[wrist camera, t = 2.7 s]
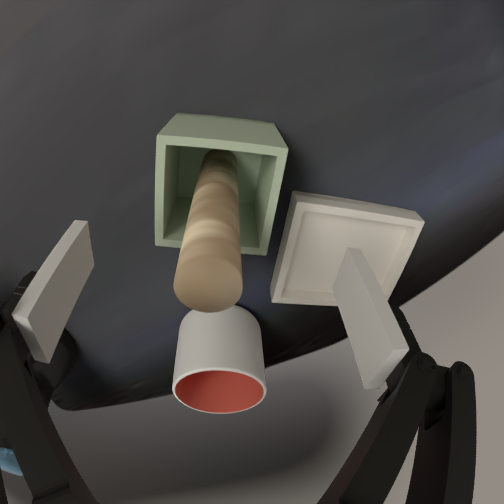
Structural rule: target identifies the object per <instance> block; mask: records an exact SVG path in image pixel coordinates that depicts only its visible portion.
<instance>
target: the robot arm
mask: <svg viewBox="0 0 504 504" xmlns="http://www.w3.org/2000/svg"><path fill="white" fill-rule="evenodd" d="M93 267H94V260H93V254H92V248H91V241H90V234H89V227H88V221H79V220H74V222H73V223H72V224H71V226H70V227H69V228H68V230H67V231H66V232H65V234H64V235H63V236H62V238H61V239H60V241H59V242H58V243H57V245H56V246H55V247H54V249H53V250H52V252H51V253H50V255H49V256H48V257H47V259H46V260H45V262H44V263H43V265H42V266H41V268H40V269H39V271H38V272H34V271H31V272H30V273H28V274H27V275H26V276H25V277H23V279H22V280H21V282H20V283H19V285H18V287H17V288H16V289H15V291H14V294H12V296H11V297H10V299H9V300H8V302H7V303H4V304H3V305H1V306H0V504H8V501H7V497H6V493H5V488H4V483H3V479H2V473H1V469H2V470H4V471H7V472H10V473H13V474H16V475H20V476H24V478H25V480H26V482H27V485H28V487H29V489H30V491H31V492H32V495H33V501H32V504H99V503H98V502H97V501H96V499H95V498H94V496H93V495H92V493H91V492H90V490H89V489H88V487H87V485H86V484H85V482H84V481H83V479H82V477H81V476H80V474H79V472H78V470H77V469H76V467H75V465H74V463H73V461H72V460H71V458H70V456H69V454H68V452H67V451H66V448H65V446H64V444H63V442H62V440H61V439H60V436H59V434H58V432H57V430H56V428H55V426H54V424H53V422H52V419H51V417H50V415H49V413H48V407H49V403H50V400H51V397H52V394H53V392H54V391H55V390H56V389H57V387H58V386H59V385H60V384H61V382H62V381H63V380H64V379H65V377H66V376H67V375H68V374H69V373H70V372H71V370H72V368H73V366H74V363H75V360H76V357H77V349H76V346H75V343H74V341H73V340H72V338H71V337H70V335H69V334H68V333H67V332H66V330H65V329H64V327H65V325H66V323H67V320H68V318H69V316H70V314H71V312H72V310H73V307H74V305H75V303H76V301H77V299H78V297H79V295H80V293H81V291H82V289H83V287H84V285H85V283H86V281H87V279H88V277H89V275H90V273H91V271H92V269H93ZM332 290H333V292H334V295H335V298H336V301H337V304H338V307H339V310H340V313H341V316H342V319H343V322H344V325H345V328H346V331H347V335H348V338H349V341H350V344H351V347H352V350H353V354H354V357H355V360H356V363H357V366H358V370H359V373H360V377H361V380H362V383H363V387H364V389H365V390H366V389H378V388H380V387H381V386H382V385H383V383H384V382H385V381H386V383H387V386H388V388H387V390H386V391H385V392H384V393H383V394H382V395H381V397H380V398H379V399H378V401H380V402H379V404H378V406H377V408H376V410H375V412H374V414H373V415H372V417H371V419H370V421H369V423H368V425H367V426H366V428H365V430H364V432H363V434H362V435H361V437H360V439H359V440H358V442H357V444H356V446H355V447H354V449H353V451H352V452H351V454H350V455H349V457H348V459H347V460H346V462H345V464H344V465H343V467H342V468H341V470H340V471H339V473H338V474H337V476H336V477H335V479H334V480H333V482H332V483H331V485H330V486H329V488H328V489H327V491H326V492H325V493H324V495H323V496H322V498H321V499H320V500H319V502H318V503H317V504H383V503H384V501H385V499H386V497H387V495H388V493H389V491H390V490H391V488H392V486H393V484H394V482H395V480H396V477H397V476H398V474H399V471H400V469H401V467H402V465H403V463H404V460H405V458H406V456H407V454H408V451H409V449H410V447H411V445H412V442H413V440H414V437H415V435H416V432H417V430H418V427H419V430H418V438H417V445H416V451H415V458H414V464H413V469H412V475H411V481H410V485H409V490H408V495H407V499H406V503H405V504H472V498H473V490H474V479H475V465H476V397H475V382H474V374H473V371H472V370H471V368H470V367H469V366H468V365H467V364H465V363H464V362H460V361H457V362H455V363H454V364H453V365H452V366H451V367H450V368H447V367H443V366H439V365H437V364H436V362H435V360H434V359H433V358H432V357H431V356H429V355H428V354H426V353H423V352H421V349H420V347H419V345H418V343H417V341H416V339H415V337H414V334H413V332H412V330H411V329H410V326H409V324H408V322H407V320H406V318H405V316H404V314H403V312H402V311H401V310H400V309H399V308H398V307H397V306H396V305H395V304H388V302H387V299H386V297H385V295H384V293H383V291H382V289H381V287H380V285H379V283H378V281H377V279H376V277H375V275H374V274H373V272H372V270H371V268H370V266H369V264H368V262H367V260H366V258H365V256H364V254H363V253H362V251H361V249H358V248H350V247H347V250H346V252H345V255H344V258H343V260H342V263H341V266H340V268H339V271H338V274H337V276H336V279H335V281H334V284H333V287H332Z"/></svg>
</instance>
